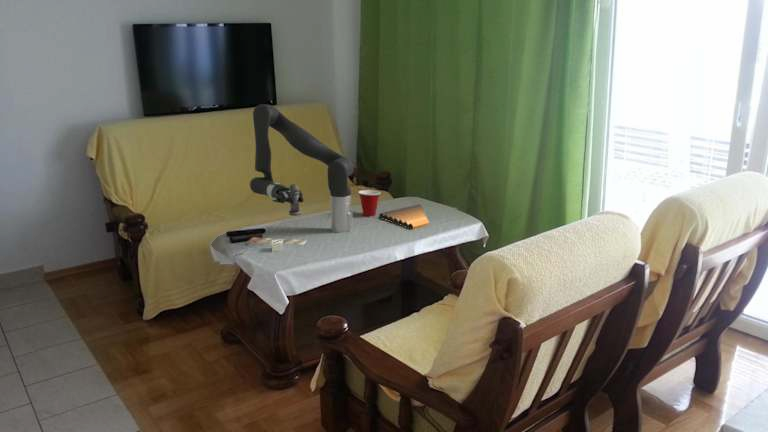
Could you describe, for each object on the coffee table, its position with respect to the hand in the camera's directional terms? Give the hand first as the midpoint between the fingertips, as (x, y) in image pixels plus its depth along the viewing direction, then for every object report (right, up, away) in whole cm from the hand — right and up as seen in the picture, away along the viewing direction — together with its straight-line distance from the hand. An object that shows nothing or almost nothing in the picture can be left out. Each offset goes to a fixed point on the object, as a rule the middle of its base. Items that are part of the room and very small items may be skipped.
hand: (297, 200), depth 252 cm
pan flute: (+51, -8, +44) cm, 68 cm away
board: (-9, -18, +9) cm, 22 cm away
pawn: (-2, -5, +4) cm, 7 cm away
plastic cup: (+28, -6, +50) cm, 58 cm away
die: (-8, -21, -1) cm, 22 cm away
